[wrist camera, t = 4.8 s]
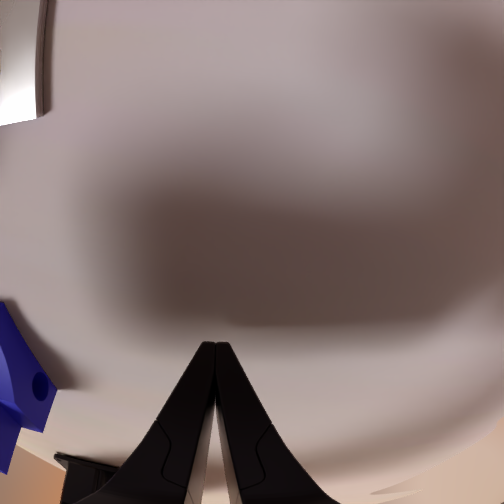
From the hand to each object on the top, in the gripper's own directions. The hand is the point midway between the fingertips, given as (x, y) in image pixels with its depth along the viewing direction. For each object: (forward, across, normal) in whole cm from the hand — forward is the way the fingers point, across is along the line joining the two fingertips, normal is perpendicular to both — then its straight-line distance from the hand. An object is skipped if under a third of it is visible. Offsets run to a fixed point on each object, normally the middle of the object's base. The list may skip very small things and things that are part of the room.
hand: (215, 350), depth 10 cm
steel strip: (+1, +13, -9) cm, 16 cm away
